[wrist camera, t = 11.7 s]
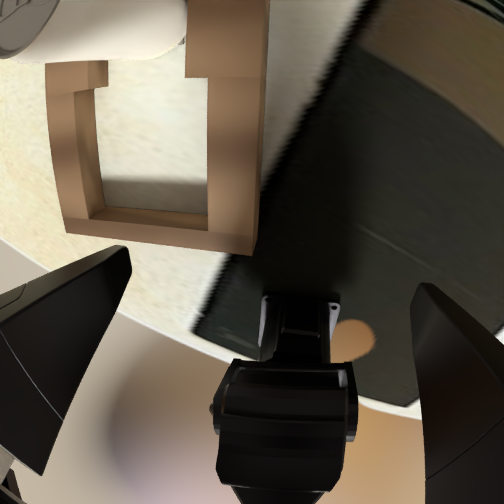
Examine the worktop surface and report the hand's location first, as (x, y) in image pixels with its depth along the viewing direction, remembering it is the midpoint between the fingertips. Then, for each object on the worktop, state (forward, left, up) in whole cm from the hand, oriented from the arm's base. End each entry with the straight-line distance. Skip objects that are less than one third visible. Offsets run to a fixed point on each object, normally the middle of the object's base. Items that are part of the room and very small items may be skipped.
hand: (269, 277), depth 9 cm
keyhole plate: (+5, +10, -13) cm, 17 cm away
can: (+10, +10, -13) cm, 19 cm away
